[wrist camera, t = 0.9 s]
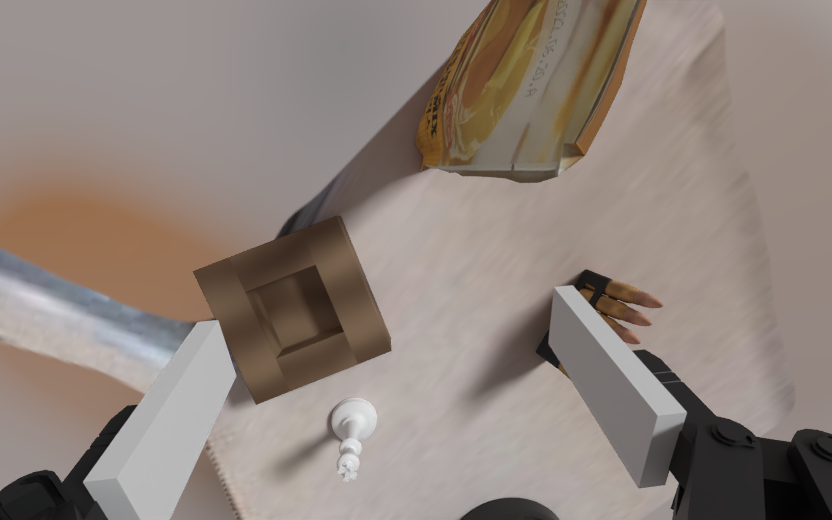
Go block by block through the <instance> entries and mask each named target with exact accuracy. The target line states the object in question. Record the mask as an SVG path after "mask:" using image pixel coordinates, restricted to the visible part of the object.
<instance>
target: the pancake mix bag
mask: <svg viewBox="0 0 832 520" xmlns="http://www.w3.org/2000/svg"><path fill="white" fill-rule="evenodd" d="M646 2H647V0H491V1H490V2H489V4H488V5H487V6H486V7H485V9H484V10H483V11H482V12H481V14H480V15H479V16H478V18H477V19H476V20H475V21H474V23H473V24H472V25H471V26H470V28H469V29H468V30H467V31H466V32H465V33H464V34H463V36H462V37H461V39H460V40H459V42H458V44H457V46H456V48H455V49H454V51H453V53H452V55H451V57H450V59H449V61H448V63H447V65H446V67H445V69H444V71H443V73H442V75H441V77H440V79H439V81H438V83H437V85H436V87H435V89H434V92H433V94H432V96H431V98H430V100H429V102H428V104H427V106H426V109H425V112H424V114H423V117H422V120H421V122H420V124H419V126H418V131H417V136H416V141H415V145H416V147H417V148H418V150H419V151H420V153H421V154H422V156H423V161H422V165H421V169H420V172H422V171H424V170H426V169H429V168H434V169H440V170H444V171H447V172H449V173H453V172H456V173H458V174H460V175H461V176H482V177H496V178H506V179H509V180H513V181H516V182H519V183H537V182H542V181H545V180H548V179H551V178H554V177H558V176H559V175H560V174H562V173H563V172H564V171H566V170H567V169H568V168H569V167H571V166H572V165H573V164H575V163H576V162H577V161H579V160H580V159H581V158H583V157H584V156H585V155H586V153H587V151H588V149H589V147H590V145H591V143H592V142H593V140H594V138H595V136H596V134H597V132H598V130H599V129H600V127H601V125H602V123H603V121H604V119H605V117H606V115H607V113H608V111H609V109H610V107H611V105H612V103H613V101H614V98H615V96H616V94H617V92H618V90H619V88H620V86H621V84H622V80H623V76H624V73H625V69H626V65H627V61H628V57H629V53H630V49H631V46H632V43H633V40H634V37H635V34H636V31H637V28H638V25H639V23H640V20H641V17H642V14H643V11H644V8H645V5H646Z"/></svg>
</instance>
